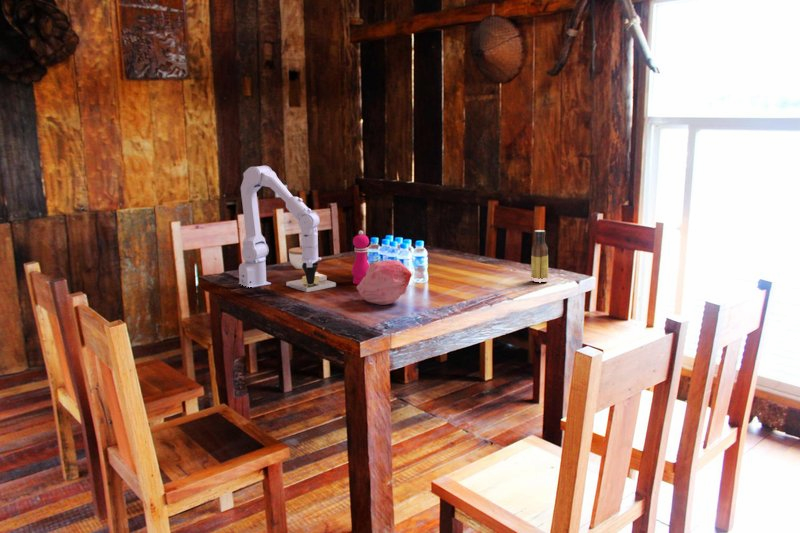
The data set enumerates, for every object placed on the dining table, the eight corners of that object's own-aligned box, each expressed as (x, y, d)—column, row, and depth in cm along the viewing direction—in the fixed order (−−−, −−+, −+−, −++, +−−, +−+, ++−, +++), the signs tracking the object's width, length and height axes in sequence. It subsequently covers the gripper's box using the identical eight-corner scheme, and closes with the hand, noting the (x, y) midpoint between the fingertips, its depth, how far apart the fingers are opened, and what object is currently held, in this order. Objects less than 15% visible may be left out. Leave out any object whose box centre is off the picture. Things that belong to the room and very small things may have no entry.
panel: (306, 292, 245) (306, 288, 244) (286, 285, 254) (286, 281, 254) (335, 286, 253) (335, 282, 253) (315, 280, 263) (315, 276, 262)
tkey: (302, 290, 247) (302, 277, 247) (302, 287, 251) (302, 275, 250) (319, 289, 248) (318, 277, 247) (319, 287, 252) (319, 274, 251)
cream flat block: (311, 282, 252) (311, 276, 252) (303, 280, 256) (303, 274, 256) (326, 279, 257) (326, 273, 257) (318, 277, 261) (318, 271, 260)
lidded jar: (292, 271, 280) (291, 248, 278) (286, 266, 289) (285, 244, 287) (317, 269, 283) (317, 246, 282) (311, 264, 293) (310, 242, 291)
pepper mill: (368, 285, 255) (367, 232, 251) (349, 284, 257) (348, 231, 253) (372, 281, 262) (372, 229, 258) (354, 280, 264) (354, 228, 260)
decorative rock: (419, 282, 236) (395, 246, 235) (420, 288, 222) (394, 249, 221) (374, 312, 238) (349, 276, 236) (372, 319, 223) (346, 281, 222)
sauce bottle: (546, 280, 265) (549, 229, 261) (548, 284, 259) (551, 232, 254) (529, 279, 265) (531, 229, 261) (531, 283, 259) (533, 231, 255)
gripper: (320, 249, 240) (321, 287, 242) (321, 242, 254) (322, 278, 257) (300, 249, 239) (301, 287, 242) (302, 242, 253) (303, 278, 256)
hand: (310, 282), depth 249 cm, fingers closed on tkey, 2 cm apart
